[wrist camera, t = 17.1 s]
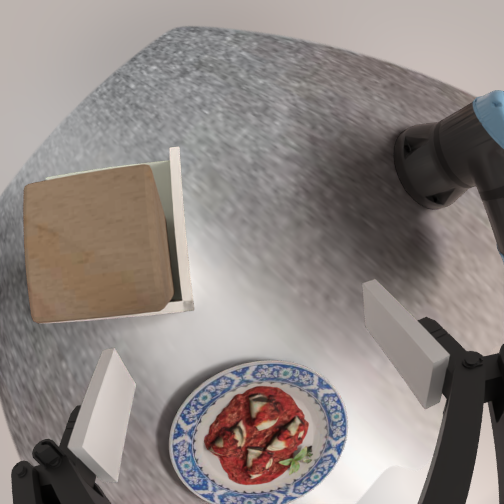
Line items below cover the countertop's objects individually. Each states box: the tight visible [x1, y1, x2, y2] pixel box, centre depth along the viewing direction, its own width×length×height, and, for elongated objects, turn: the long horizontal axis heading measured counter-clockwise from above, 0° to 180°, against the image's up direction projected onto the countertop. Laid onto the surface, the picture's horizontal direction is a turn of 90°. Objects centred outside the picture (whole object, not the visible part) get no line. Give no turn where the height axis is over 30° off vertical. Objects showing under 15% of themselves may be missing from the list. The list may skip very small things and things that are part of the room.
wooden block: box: [23, 164, 175, 323], centre depth 29 cm, size 10×10×20 cm
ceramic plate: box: [169, 360, 348, 504], centre depth 40 cm, size 26×26×3 cm
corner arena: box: [40, 147, 194, 324], centre depth 37 cm, size 19×19×5 cm
